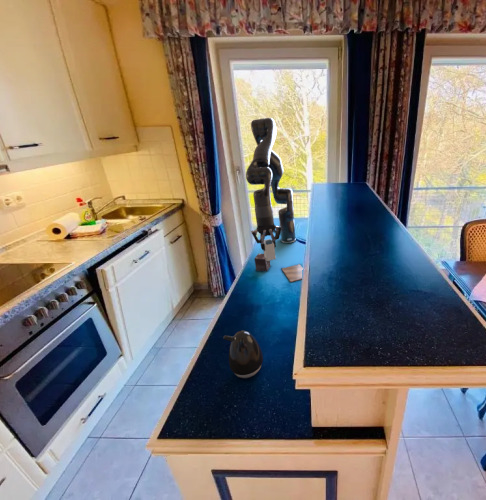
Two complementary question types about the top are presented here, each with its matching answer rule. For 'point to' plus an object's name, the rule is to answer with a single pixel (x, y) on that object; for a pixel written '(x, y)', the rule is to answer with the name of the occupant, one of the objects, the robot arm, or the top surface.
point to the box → (261, 263)
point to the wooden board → (293, 272)
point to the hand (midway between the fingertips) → (268, 248)
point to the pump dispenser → (244, 354)
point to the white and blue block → (269, 250)
